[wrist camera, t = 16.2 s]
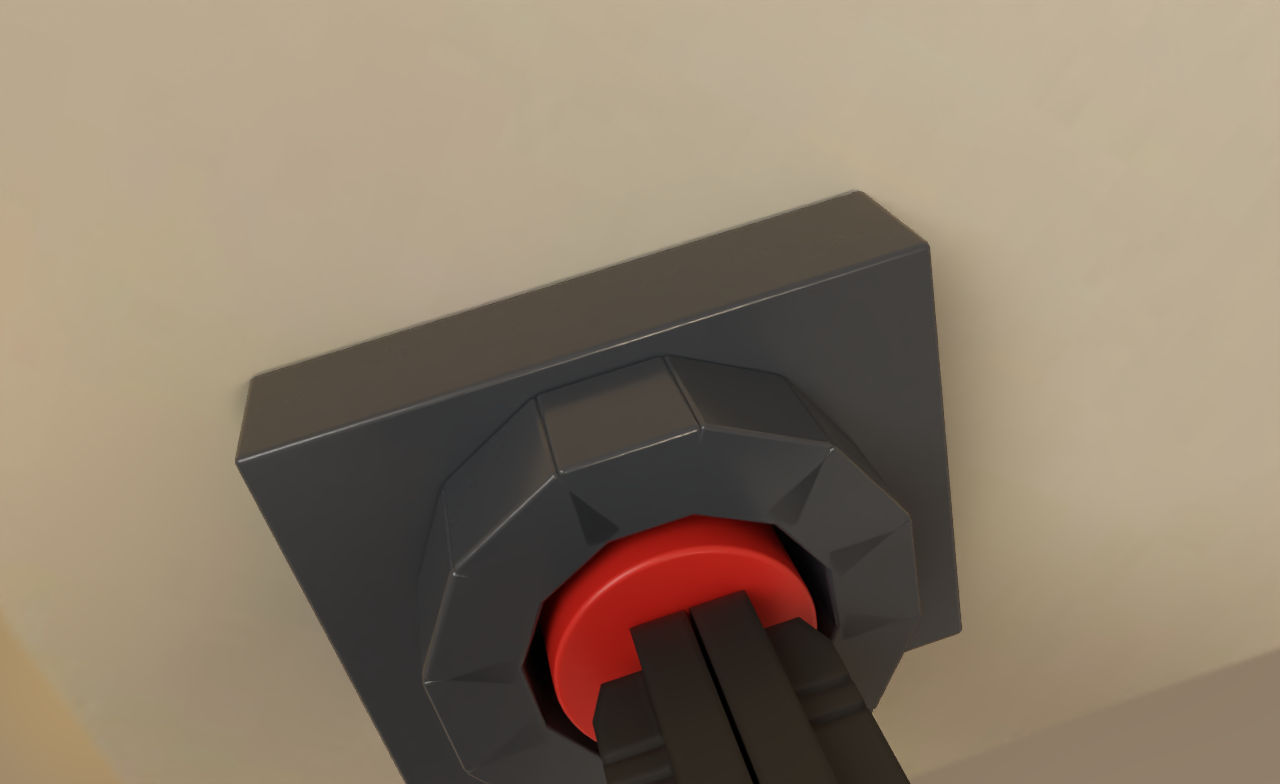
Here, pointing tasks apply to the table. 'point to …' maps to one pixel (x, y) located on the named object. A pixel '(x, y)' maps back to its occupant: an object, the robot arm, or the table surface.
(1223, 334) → the table surface
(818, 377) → the button block
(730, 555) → the button
